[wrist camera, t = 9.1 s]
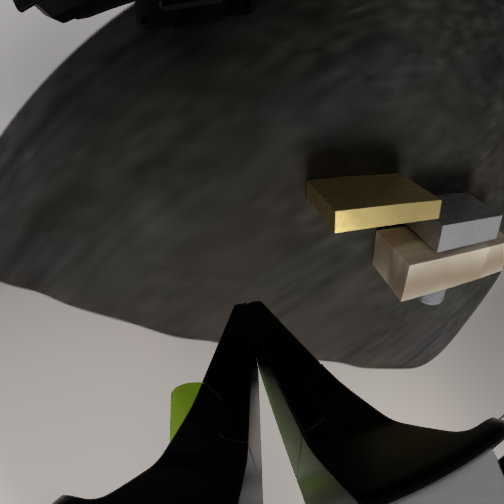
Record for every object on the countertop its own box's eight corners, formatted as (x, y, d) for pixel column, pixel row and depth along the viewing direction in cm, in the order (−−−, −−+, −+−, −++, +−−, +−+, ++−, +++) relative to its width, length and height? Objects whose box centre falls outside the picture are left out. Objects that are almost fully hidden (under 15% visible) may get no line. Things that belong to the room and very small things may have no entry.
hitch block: (376, 230, 21) (409, 265, 17) (478, 215, 22) (512, 240, 18) (371, 263, 23) (400, 301, 19) (471, 243, 23) (501, 270, 19)
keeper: (306, 180, 18) (335, 211, 14) (398, 173, 19) (441, 200, 15) (306, 197, 19) (334, 232, 15) (397, 188, 19) (438, 218, 15)
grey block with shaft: (406, 198, 20) (442, 225, 16) (466, 192, 20) (502, 215, 16) (391, 292, 25) (415, 326, 21) (446, 277, 25) (472, 305, 21)
